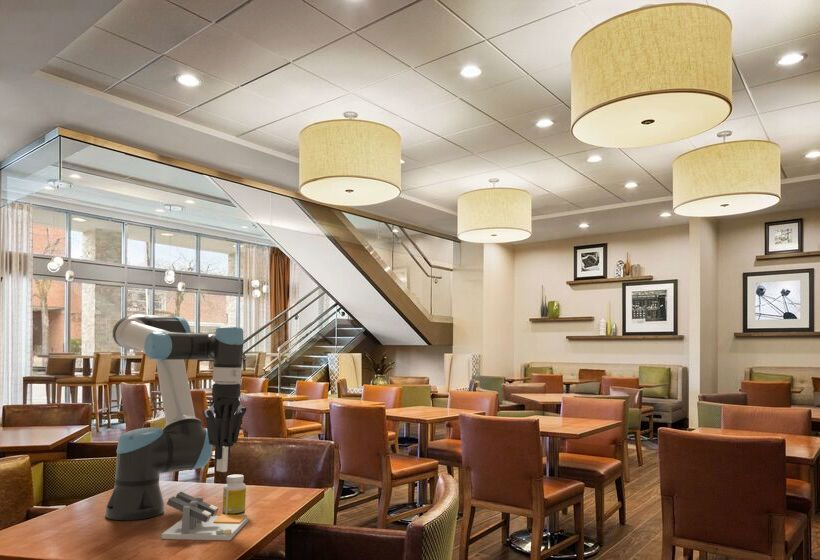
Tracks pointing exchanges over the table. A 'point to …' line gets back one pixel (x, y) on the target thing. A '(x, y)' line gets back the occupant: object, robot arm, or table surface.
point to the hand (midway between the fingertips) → (221, 470)
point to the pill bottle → (234, 495)
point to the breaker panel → (205, 526)
